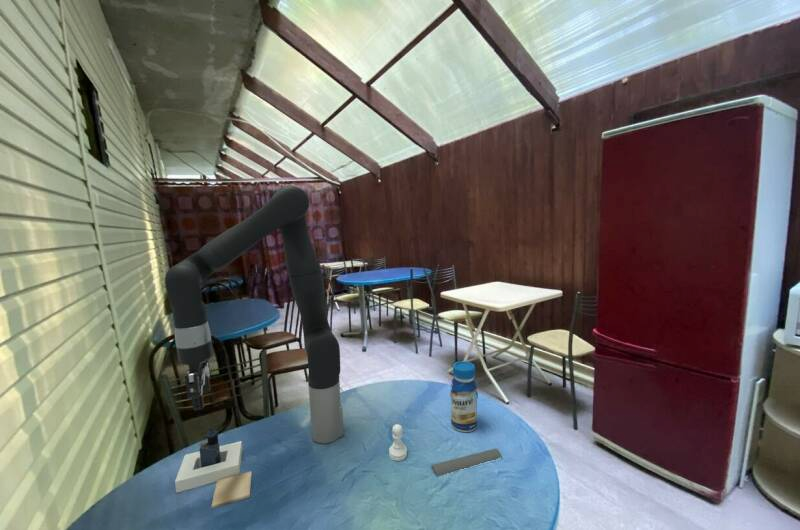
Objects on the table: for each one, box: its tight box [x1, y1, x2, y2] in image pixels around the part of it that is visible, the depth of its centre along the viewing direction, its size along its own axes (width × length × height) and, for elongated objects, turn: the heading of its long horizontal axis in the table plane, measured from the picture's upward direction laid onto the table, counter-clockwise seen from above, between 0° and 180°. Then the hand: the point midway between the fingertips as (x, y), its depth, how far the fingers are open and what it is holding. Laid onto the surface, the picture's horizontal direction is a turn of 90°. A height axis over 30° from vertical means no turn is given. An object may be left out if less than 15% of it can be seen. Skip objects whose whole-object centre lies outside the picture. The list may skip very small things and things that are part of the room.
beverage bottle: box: [449, 360, 479, 433], centre depth 101 cm, size 8×8×20 cm
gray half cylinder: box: [431, 448, 502, 477], centre depth 87 cm, size 4×20×2 cm, turn 107°
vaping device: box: [198, 427, 222, 468], centre depth 86 cm, size 3×5×12 cm, turn 79°
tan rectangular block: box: [211, 470, 252, 509], centre depth 80 cm, size 8×8×1 cm
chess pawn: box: [388, 423, 408, 462], centre depth 90 cm, size 5×5×9 cm
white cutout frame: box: [174, 440, 244, 493], centre depth 86 cm, size 14×10×3 cm
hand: (202, 400), depth 84 cm, fingers open, 8 cm apart
